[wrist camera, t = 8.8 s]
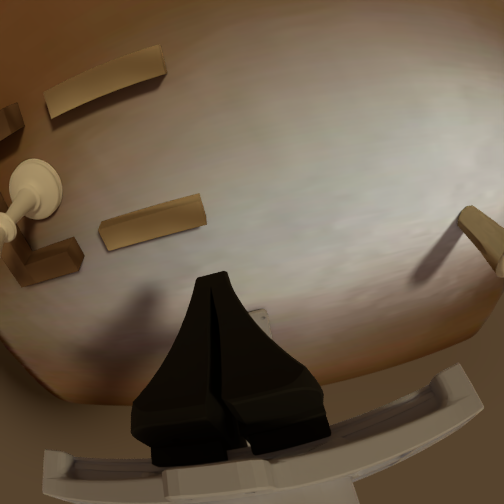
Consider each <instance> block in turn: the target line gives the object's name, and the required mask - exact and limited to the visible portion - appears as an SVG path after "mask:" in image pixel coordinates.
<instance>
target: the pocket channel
mask: <svg viewBox="0 0 504 504" xmlns="http://www.w3.org/2000/svg"><path fill="white" fill-rule="evenodd" d="M166 73H167V70H166V66H165V61H164V57H163V53H162V49H161V45H159V44H158V45H155V46H152V47H148V48H145V49H142V50H139V51H136V52H133V53H130V54H128V55H125V56H122V57H119V58H117V59H114V60H111V61H109V62H106V63H104V64H101V65H99V66H97V67H94V68H92V69H90V70H87V71H85V72H83V73H81V74H79V75H76V76H74V77H72V78H70V79H68V80H66V81H64V82H62V83H60V84H58V85H56V86H54V87H52V88H50V89H49V90H47V91H45V92H43V94H44V97H45V100H46V103H47V107H48V110H49V113H50V116H51V119H52V118H54V117H56V116H58V115H60V114H62V113H64V112H66V111H69V110H71V109H73V108H75V107H77V106H79V105H82V104H84V103H86V102H88V101H91V100H93V99H96V98H98V97H100V96H103V95H105V94H108V93H110V92H113V91H116V90H118V89H121V88H124V87H127V86H129V85H132V84H135V83H138V82H141V81H144V80H147V79H150V78H154V77H157V76H160V75H164V74H166ZM203 225H207V221H206V214H205V211H204V207H203V204H202V201H201V197H200V194H199V193H198V194H195V195H191V196H187V197H183V198H180V199H176V200H172V201H169V202H165V203H162V204H158V205H155V206H151V207H148V208H144V209H141V210H137V211H134V212H131V213H128V214H124V215H121V216H118V217H115V218H111V219H108V220H105V221H102V222H101V224H100V226H99V229H98V231H99V233H100V235H101V237H102V239H103V241H104V243H105V245H106V247H107V249H108V251H110V250H114V249H117V248H121V247H124V246H128V245H131V244H135V243H139V242H142V241H146V240H149V239H153V238H157V237H161V236H164V235H168V234H172V233H176V232H179V231H183V230H187V229H191V228H195V227H199V226H203Z"/></svg>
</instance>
